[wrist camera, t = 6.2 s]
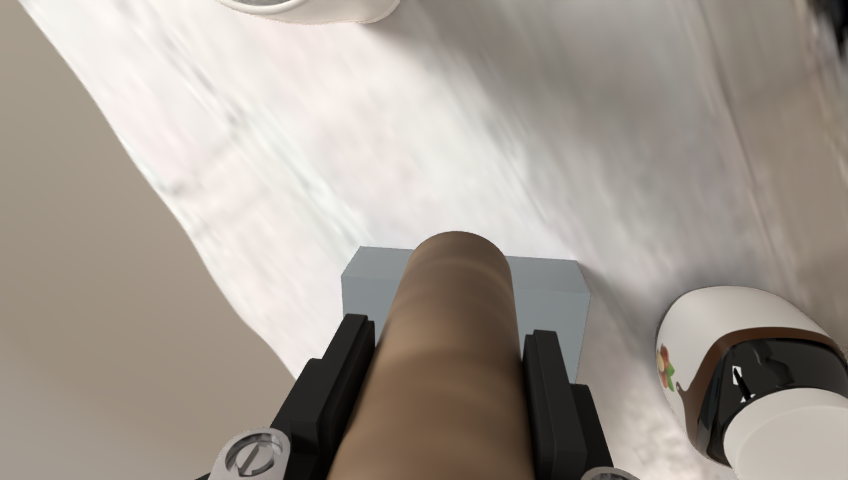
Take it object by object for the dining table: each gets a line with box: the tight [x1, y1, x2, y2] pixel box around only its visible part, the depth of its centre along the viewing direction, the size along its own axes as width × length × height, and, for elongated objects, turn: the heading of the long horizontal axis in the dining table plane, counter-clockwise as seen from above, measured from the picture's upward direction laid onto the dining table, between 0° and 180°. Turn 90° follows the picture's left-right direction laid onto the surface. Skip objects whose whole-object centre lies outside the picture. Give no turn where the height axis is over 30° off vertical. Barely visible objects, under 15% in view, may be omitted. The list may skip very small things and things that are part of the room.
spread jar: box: [655, 286, 848, 480], centre depth 29 cm, size 12×11×12 cm
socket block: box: [341, 246, 591, 384], centre depth 34 cm, size 16×16×5 cm
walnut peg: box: [326, 231, 536, 480], centre depth 11 cm, size 4×4×14 cm
